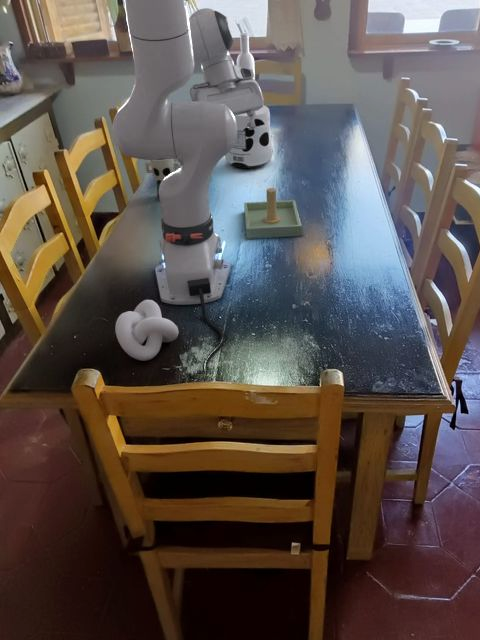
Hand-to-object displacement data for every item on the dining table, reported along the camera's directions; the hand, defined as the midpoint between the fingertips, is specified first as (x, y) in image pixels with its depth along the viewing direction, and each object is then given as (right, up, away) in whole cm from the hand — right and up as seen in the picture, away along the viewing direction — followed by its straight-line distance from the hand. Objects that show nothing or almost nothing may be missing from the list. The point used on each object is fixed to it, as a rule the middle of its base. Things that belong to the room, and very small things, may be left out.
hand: (238, 132), depth 143 cm
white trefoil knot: (-16, -59, -35) cm, 70 cm away
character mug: (-23, -11, +23) cm, 35 cm away
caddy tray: (+9, -23, +7) cm, 26 cm away
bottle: (0, +53, +100) cm, 113 cm away
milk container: (+2, +8, +45) cm, 46 cm away
